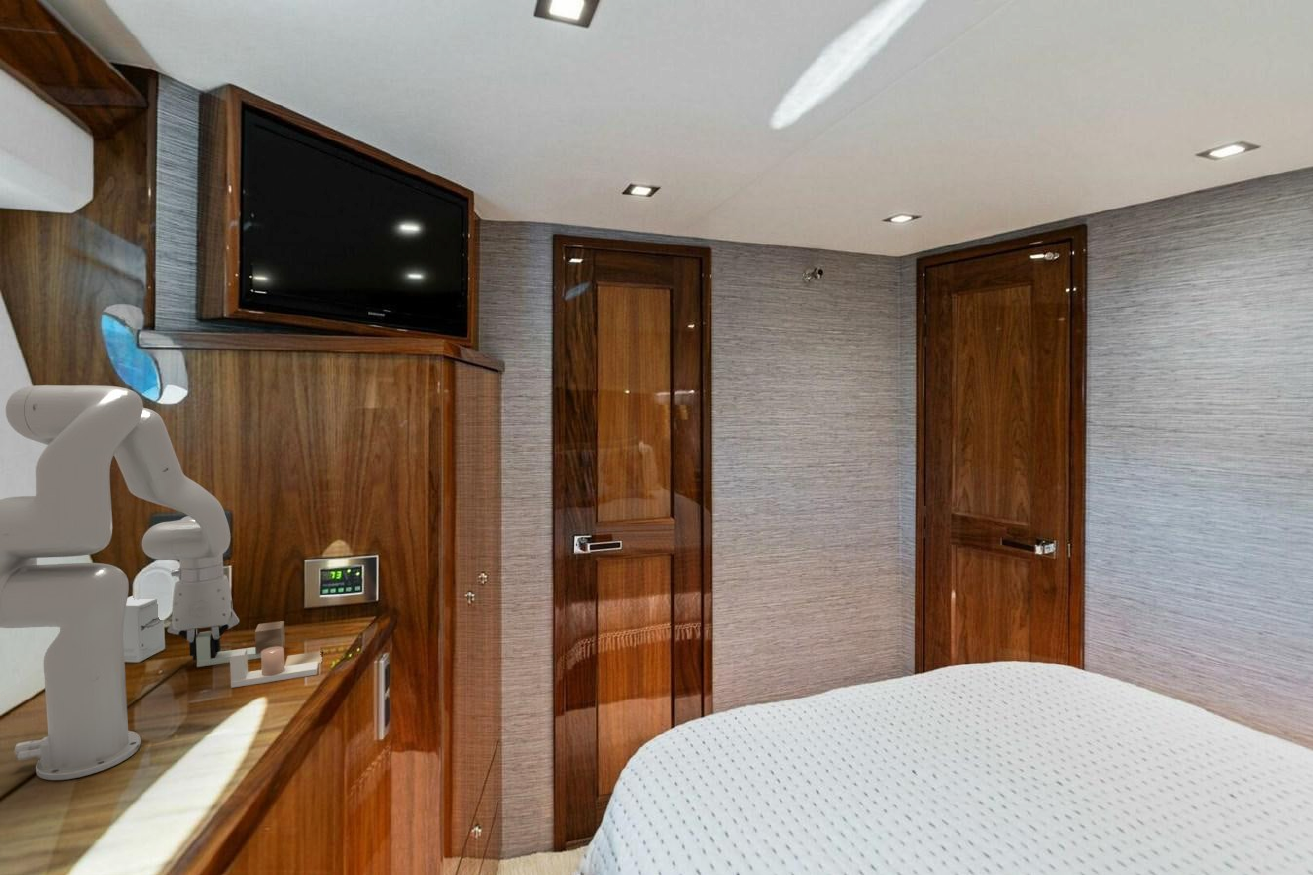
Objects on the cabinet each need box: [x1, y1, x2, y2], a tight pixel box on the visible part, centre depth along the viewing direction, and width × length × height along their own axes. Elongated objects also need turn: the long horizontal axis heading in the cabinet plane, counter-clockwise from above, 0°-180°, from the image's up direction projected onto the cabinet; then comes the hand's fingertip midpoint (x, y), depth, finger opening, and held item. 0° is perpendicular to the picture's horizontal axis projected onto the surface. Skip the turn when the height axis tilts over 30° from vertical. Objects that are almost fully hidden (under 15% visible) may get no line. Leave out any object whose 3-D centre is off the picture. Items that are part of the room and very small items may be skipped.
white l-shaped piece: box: [196, 630, 261, 668], centre depth 140 cm, size 15×4×6 cm, turn 114°
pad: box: [284, 650, 323, 666], centre depth 139 cm, size 7×7×1 cm
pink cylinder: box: [260, 646, 285, 676], centre depth 131 cm, size 4×4×4 cm
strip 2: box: [229, 647, 319, 689], centre depth 131 cm, size 15×4×6 cm, turn 114°
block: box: [254, 620, 286, 654], centre depth 142 cm, size 5×5×5 cm
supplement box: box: [123, 595, 166, 663], centre depth 142 cm, size 7×7×13 cm
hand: (205, 656), depth 138 cm, fingers closed on white l-shaped piece, 2 cm apart
